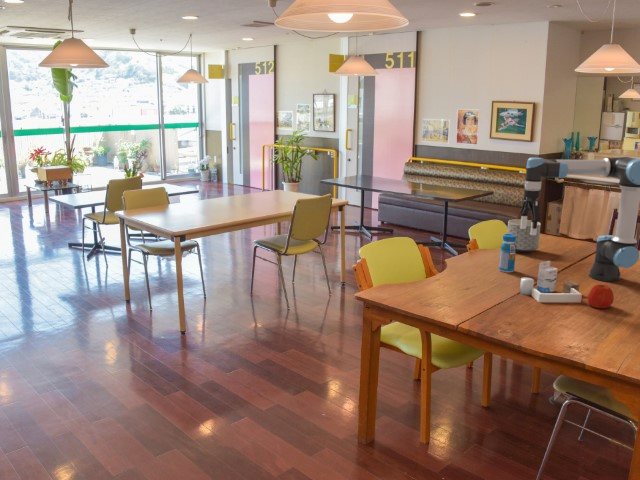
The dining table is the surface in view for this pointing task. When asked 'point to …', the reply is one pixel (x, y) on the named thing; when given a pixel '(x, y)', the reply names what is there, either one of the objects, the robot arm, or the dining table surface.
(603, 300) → the apple
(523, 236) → the planter
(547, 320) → the dining table surface
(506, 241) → the beverage bottle
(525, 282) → the glossy white capsule
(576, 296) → the display bracket
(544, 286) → the ink box
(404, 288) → the dining table surface
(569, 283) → the grey-brown cube
